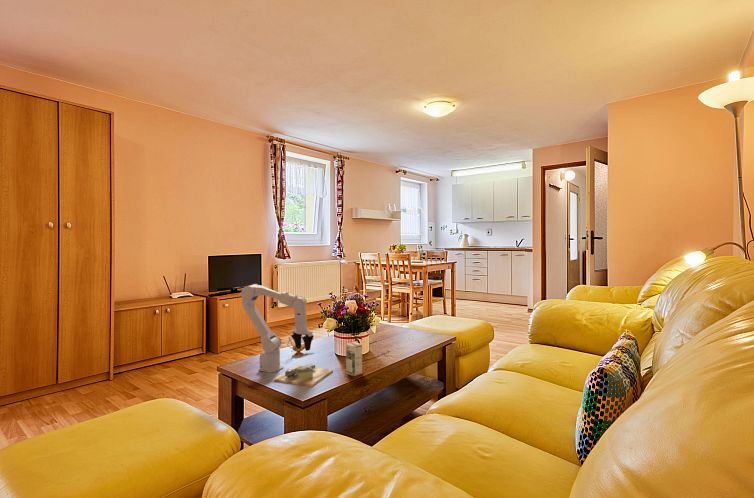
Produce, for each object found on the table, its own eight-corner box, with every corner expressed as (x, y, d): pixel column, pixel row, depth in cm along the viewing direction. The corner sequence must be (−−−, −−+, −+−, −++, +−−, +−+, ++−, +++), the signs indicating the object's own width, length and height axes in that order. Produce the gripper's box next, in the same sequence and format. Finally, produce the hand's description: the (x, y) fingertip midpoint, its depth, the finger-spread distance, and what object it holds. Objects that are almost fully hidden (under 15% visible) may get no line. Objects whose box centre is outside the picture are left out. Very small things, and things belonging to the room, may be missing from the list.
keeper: (298, 379, 169) (298, 370, 169) (297, 376, 173) (297, 368, 173) (312, 377, 172) (312, 369, 172) (311, 374, 175) (311, 366, 175)
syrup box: (345, 373, 179) (345, 343, 179) (354, 370, 183) (354, 341, 183) (353, 376, 175) (353, 346, 175) (362, 373, 179) (362, 343, 179)
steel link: (288, 377, 169) (288, 372, 169) (283, 375, 172) (283, 370, 172) (315, 368, 181) (315, 363, 181) (310, 366, 184) (310, 361, 184)
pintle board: (273, 381, 170) (273, 376, 170) (297, 367, 189) (297, 363, 189) (311, 386, 163) (311, 382, 163) (332, 371, 182) (332, 367, 182)
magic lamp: (317, 351, 217) (317, 332, 217) (291, 358, 204) (290, 338, 203) (310, 349, 221) (310, 330, 221) (284, 355, 208) (283, 336, 208)
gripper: (316, 321, 182) (318, 348, 182) (299, 319, 192) (301, 345, 192) (304, 324, 177) (307, 352, 177) (287, 321, 187) (289, 348, 187)
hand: (303, 349), depth 184 cm, fingers open, 7 cm apart
